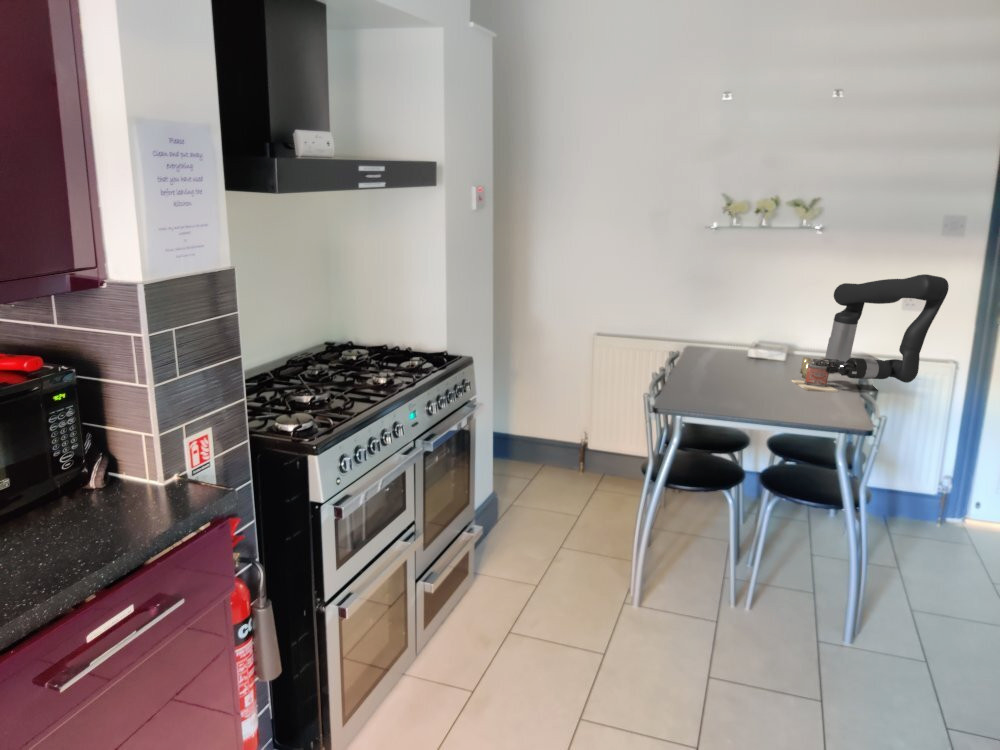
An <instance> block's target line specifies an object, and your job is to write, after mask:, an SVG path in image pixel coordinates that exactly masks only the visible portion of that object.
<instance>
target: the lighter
mask: <svg viewBox="0 0 1000 750" xmlns="http://www.w3.org/2000/svg"><path fill="white" fill-rule="evenodd" d="M822 358H823V357H820V358H816V357H815V358H814V357H812V358H811V362H812V363H813V364H808V370H807V375H806V379H804V380H805V382H804V384H805V385H810V386H818V387H827V385H828V381H829V380H828V379H829V374H830V373H827V372H826V368H827V364H829V362H828V360H823V359H822ZM816 362H817V364H816ZM824 363H825V365H824Z"/></svg>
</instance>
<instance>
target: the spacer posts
mask: <svg viewBox="0 0 1000 750" xmlns="http://www.w3.org/2000/svg"><path fill="white" fill-rule="evenodd" d="M821 358H822V359H828V358H825V357H821ZM811 359H812V358H811V357H806V356H802V361H801V367H800V372H799V373H800V374H801V378H802V379H804V380H806V375H807V370H808V364H814V362H811Z"/></svg>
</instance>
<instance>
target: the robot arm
mask: <svg viewBox="0 0 1000 750" xmlns="http://www.w3.org/2000/svg"><path fill="white" fill-rule="evenodd" d="M949 285H950V284H949V282H948V280H947V279H946V278H944V277H941V276H938V275H932V274H927V273H926V274H918V275H914V276H910V277H904V278H888V279H878V280H873V281H866V282H863V283H852V282H851V283H849V282H846V283H842V284H839V285H838V286H837V287H836V288H835V289H834V292H833V298H834V299H833V300H834V301H835V303H837V305H839V306H844V307H845V308H844V309H843V310H841V311H840V312H839V311H838V312H836V313H835V314H834V318H833V323H832V328H831V332H830V336H829V338H828V343H827V347H826V351H825V357H824V358H828V359H823V360H828V364H827V368H826V372H827V373H829V374H836V375H841V376H842V377H843V376H846V377H847V378H849V379H861V380H871V379H873V380H886V379H888V378H889V377H890V378H895V379H896V380H898V381H900V382H902V383H905V384H906V383H907V384H909V383H911V382H913V381H914V380H915V379H916V377H917V375H918V373H919V368H920V355H921V352H922V348H923V345H924V342H925V339H926V337H927V334H928V332H929V329H930V327H931V325H932V323H933V322H934V320H935V318H936V316H937V314H938V312H939V311H940V309H941V306H942V305H943V303H944V302H945V299H946V298H947V295H948V292H949ZM901 299H914V300H918V301H919V300H920V301H925V304H924V307H923V309H922V311H921V312H920V314H919V315H918V316H917V317H916V318H914V320H913V321H912V322H911V323H910V324H909V326H908V327H907V328H906V330H905V332H904V334H903V336H902V339H901V342H900V345H899V349H898V351H899V353H900V354H901V355H902V360H901V359H896V358H894V359H886V360H884V359H872V358H863V357H851V356H852V351H853V346H854V342H855V338H856V333H857V328H858V323H859V320H860V318H861V316H862V314H863V310H864V307H865V304H875V305H877V304H878V305H882V304H883V305H884V304H894V303H897V302H899V301H900V300H901ZM816 364H817V362H816ZM824 365H825V363H824Z"/></svg>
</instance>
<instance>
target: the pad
mask: <svg viewBox="0 0 1000 750" xmlns="http://www.w3.org/2000/svg"><path fill="white" fill-rule="evenodd" d="M805 380H806V379H791V382H792V383H794V384H795V385H798V386H799V387H800V388H802V389H804V390H806V391H808V392H809V391H810V392H824V393H825V392H827V393H839V389H836V388H834V387H833V386H830V384H827V387H818V386H810V385H805V384H804V382H805Z"/></svg>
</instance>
